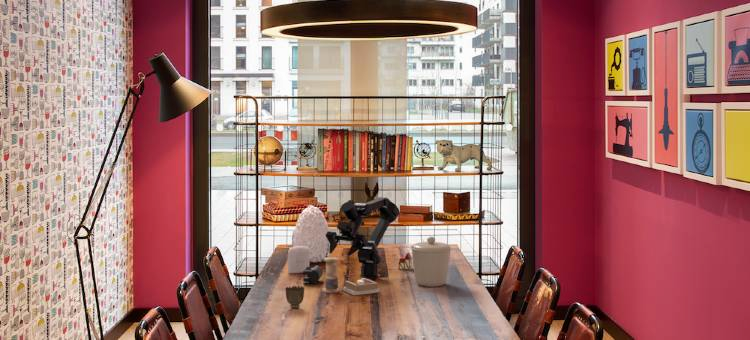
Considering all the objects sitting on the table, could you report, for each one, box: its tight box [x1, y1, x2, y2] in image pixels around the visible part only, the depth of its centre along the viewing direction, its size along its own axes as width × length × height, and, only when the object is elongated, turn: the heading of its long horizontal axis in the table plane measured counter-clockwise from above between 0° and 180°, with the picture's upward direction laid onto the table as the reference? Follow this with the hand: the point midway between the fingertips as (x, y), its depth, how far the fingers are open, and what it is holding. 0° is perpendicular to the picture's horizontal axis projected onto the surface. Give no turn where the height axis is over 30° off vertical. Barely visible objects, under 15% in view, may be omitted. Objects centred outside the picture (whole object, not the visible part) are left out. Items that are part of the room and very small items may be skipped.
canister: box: [410, 236, 453, 288], centre depth 378 cm, size 18×18×21 cm
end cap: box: [302, 265, 324, 286], centre depth 382 cm, size 10×7×7 cm
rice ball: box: [291, 204, 331, 263], centre depth 432 cm, size 28×19×28 cm
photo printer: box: [287, 246, 310, 274], centre depth 403 cm, size 10×4×12 cm, turn 116°
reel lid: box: [356, 277, 367, 285], centre depth 380 cm, size 6×6×2 cm
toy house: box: [398, 252, 413, 270], centre depth 413 cm, size 6×7×8 cm
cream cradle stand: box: [343, 278, 381, 296], centre depth 365 cm, size 12×10×4 cm
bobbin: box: [323, 256, 340, 294], centre depth 365 cm, size 6×6×14 cm
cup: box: [285, 285, 305, 310], centre depth 336 cm, size 8×7×8 cm
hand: (339, 254), depth 372 cm, fingers open, 9 cm apart
